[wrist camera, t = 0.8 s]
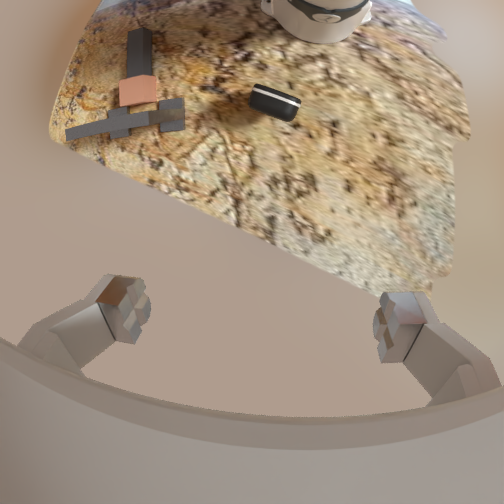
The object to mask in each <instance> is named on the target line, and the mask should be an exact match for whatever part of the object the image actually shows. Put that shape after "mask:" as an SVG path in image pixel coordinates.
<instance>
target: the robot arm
mask: <svg viewBox="0 0 504 504" xmlns="http://www.w3.org/2000/svg"><path fill="white" fill-rule="evenodd" d="M267 1H271V3H267ZM371 6H372V3H371V2H370V0H262V2H261V10H262V11H263V12H264V13H266V14H268V15H270V16H272V17H274V18H275V19H276V20H277V21H278V22H279V23H280V24H281V25H282V27H283V28H284V29H285V30H287V31H288V32H289V33H291V34H292V35H294V36H295V37H297V38H299V39H302V40H305V41H308V42H312V43H319V44H328V43H334V42H338V41H341V40H343V39H345V38H347V37H348V36H349V35H350V34H351V33H352V32H353V31H354V30H355V29H356V28H357V27H358V26H360V25H363V24H365V23H367V22H369V21H370V19H371V13H370V8H371ZM145 289H146V286H145V284H144V280H142V279H141V278H136V277H129V276H121V275H112V274H107V275H104V276H103V277H102V278H101V280H100V281H99V282H98V283H97V284H96V285H95V287H94V288H93V289H92V290H91V291H90V293H89V294H88V295H87V296H86V298H85V299H84V300H79V301H77V302H75V303H73V304H71V305H69V306H67V307H65V308H63V309H61V310H59V311H58V312H56V313H54V314H52V315H50V316H48V317H46V318H44V319H43V320H41V321H39V322H37V323H35V324H33V326H32V327H31V328H30V329H29V331H28V332H27V333H26V335H25V336H24V337H23V338H22V340H21V341H20V343H19V344H18V345H17V346H15V345H14V344H12V343H10V342H8V341H6V340H5V339H3V338H1V337H0V504H504V386H502V385H501V383H500V381H499V378H498V376H497V373H496V371H495V369H494V367H493V364H492V363H491V360H490V358H489V357H487V356H486V355H485V354H484V353H482V352H481V351H480V350H479V349H477V348H476V347H475V346H474V345H472V344H471V343H470V342H468V341H467V340H466V339H465V338H463V337H462V336H461V335H459V334H458V333H457V332H456V331H454V330H453V329H451V328H450V327H449V326H448V325H446V324H445V323H440V321H439V319H438V317H437V315H436V313H435V311H434V309H433V307H432V305H431V303H430V301H429V299H428V298H427V296H426V294H425V293H424V292H423V291H410V292H383V294H382V295H381V298H380V305H381V307H380V308H379V309H378V310H377V311H376V313H375V316H374V320H373V332H374V337H375V339H377V340H378V341H379V342H380V343H379V345H378V348H377V349H378V353H379V357H380V361H381V363H398V362H403V364H404V365H405V366H406V368H407V369H408V370H409V371H410V372H411V373H412V374H413V376H414V377H415V378H416V379H417V380H418V381H419V383H420V384H421V385H422V386H423V387H424V389H425V390H426V391H427V392H428V393H429V394H430V396H431V397H432V398H433V399H432V400H431V401H430V402H429V403H428V404H427V405H426V406H425V407H423V408H417V409H411V410H405V411H398V412H390V413H382V414H372V415H360V416H344V417H282V416H264V415H253V414H242V413H234V412H225V411H218V410H211V409H204V408H199V407H193V406H188V405H182V404H178V403H173V402H168V401H164V400H159V399H156V398H152V397H147V396H144V395H140V394H136V393H132V392H129V391H126V390H122V389H119V388H116V387H113V386H110V385H107V384H104V383H101V382H98V381H95V380H92V379H89V378H87V377H86V376H85V375H84V374H83V373H82V371H81V370H80V369H81V368H82V367H84V366H85V365H86V364H87V363H89V362H90V361H91V360H93V359H94V358H95V357H96V356H98V355H99V354H100V353H102V352H103V351H104V350H105V349H107V348H108V347H109V346H111V345H112V344H113V343H114V342H115V341H119V342H124V343H130V344H135V343H136V341H137V339H138V337H139V335H140V334H141V332H142V330H141V326H142V325H143V324H145V323H146V322H147V321H148V319H149V317H150V311H151V303H150V300H149V297H148V296H147V295H146V294H145V293H144V290H145Z"/></svg>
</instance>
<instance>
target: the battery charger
mask: <svg viewBox="0 0 504 504" xmlns="http://www.w3.org/2000/svg"><path fill="white" fill-rule="evenodd" d="M300 104H301V100H300V99H298V98H296V97H293V96H291V95H288V94H286V93H283V92H280V91H278V90H275V89H272V88H269V87H266V86H263V85H260V84H255V85H254V87H253V88H252V92H251V94H250V97H249V100H248V105H249V107H250V108H251V109H253V110H255V111H258V112H261V113H263V114H266V115H269V116H272V117H274V118H277V119H280V120H282V121H285V122H290V121H292V120H293V119H294V118H295V116H296V114H297V111H298V109H299V108H300V106H301V105H300Z"/></svg>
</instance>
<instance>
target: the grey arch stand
mask: <svg viewBox="0 0 504 504" xmlns="http://www.w3.org/2000/svg"><path fill="white" fill-rule="evenodd" d="M108 116H109V118H108V119H104V120H99V121H95V122H91V123H87V124H83V125H80V126H76V127H72V128H69V129H65V132H66V141H69V140H73V139H77V138H82V137H86V136H91V135H95V134H100V133H105V132H110V139H114V138H120V137H126V136H131V128H133V127H140V126H147V125H153V124H158V123H160V130H161V132H166V131H177V130H185V108H184V98H175V99H168V100H161V101H159V110H154V111H145V112H139V113H133V114H130V111H129V106H127V107H122V108H117V109H113V110H108Z"/></svg>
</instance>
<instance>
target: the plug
mask: <svg viewBox="0 0 504 504" xmlns="http://www.w3.org/2000/svg"><path fill="white" fill-rule="evenodd" d="M151 57H152V31H150V30H148V29H146V28H139V29H136V30H133V31H129V32H128V41H127V79H123V80H119V99H120V107H121V106H133V105H139V104H144V103H150V102H156V101H157V99H156V77H155V76H152V68H151Z"/></svg>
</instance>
